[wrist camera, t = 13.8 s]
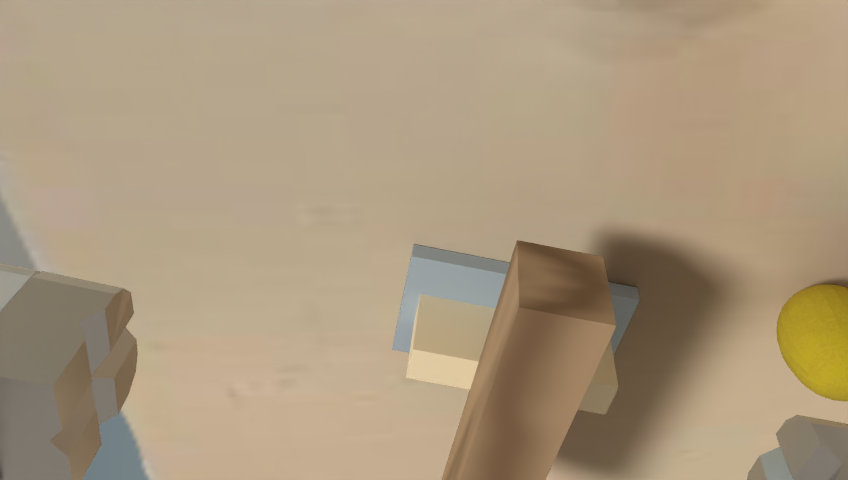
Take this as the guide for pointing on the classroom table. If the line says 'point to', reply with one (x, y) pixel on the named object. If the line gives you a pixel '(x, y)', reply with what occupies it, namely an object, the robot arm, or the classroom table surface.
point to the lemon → (817, 339)
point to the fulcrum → (478, 321)
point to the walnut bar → (533, 365)
